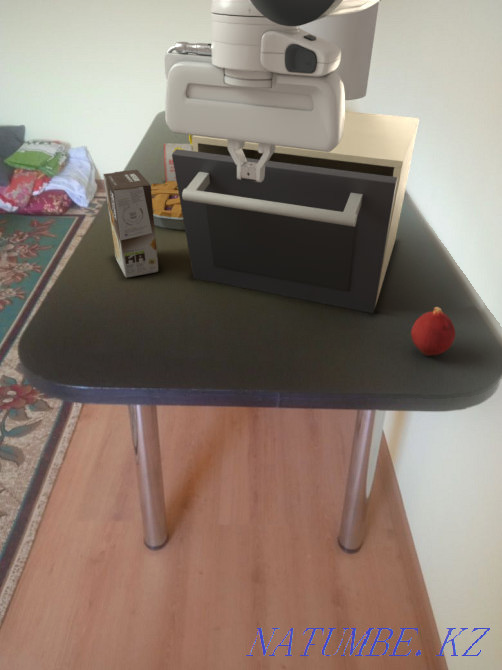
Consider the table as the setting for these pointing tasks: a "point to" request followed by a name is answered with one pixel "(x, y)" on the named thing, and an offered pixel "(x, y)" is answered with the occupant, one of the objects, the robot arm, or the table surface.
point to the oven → (350, 156)
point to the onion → (433, 332)
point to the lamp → (350, 46)
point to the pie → (167, 205)
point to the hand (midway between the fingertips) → (250, 179)
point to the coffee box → (132, 222)
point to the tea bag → (169, 160)
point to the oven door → (286, 228)
